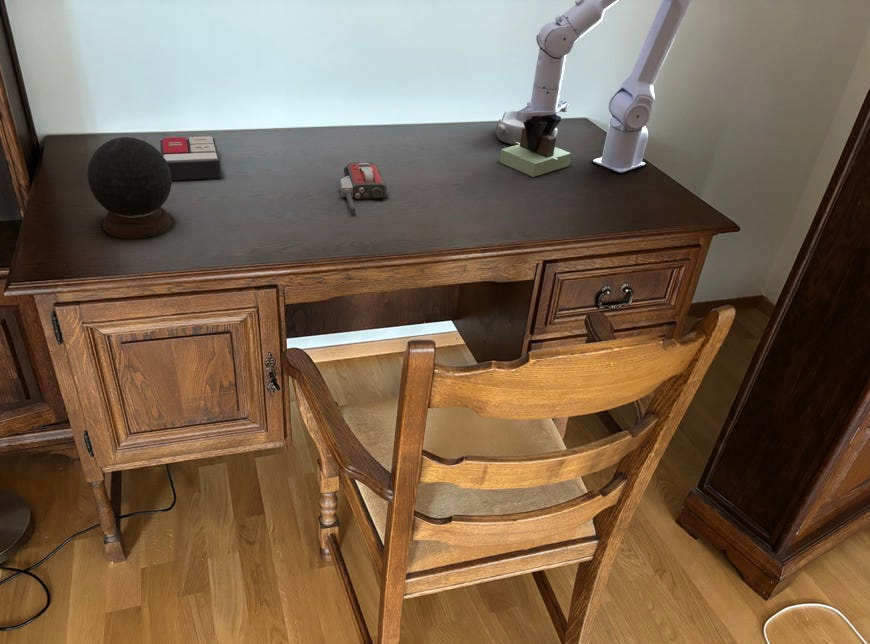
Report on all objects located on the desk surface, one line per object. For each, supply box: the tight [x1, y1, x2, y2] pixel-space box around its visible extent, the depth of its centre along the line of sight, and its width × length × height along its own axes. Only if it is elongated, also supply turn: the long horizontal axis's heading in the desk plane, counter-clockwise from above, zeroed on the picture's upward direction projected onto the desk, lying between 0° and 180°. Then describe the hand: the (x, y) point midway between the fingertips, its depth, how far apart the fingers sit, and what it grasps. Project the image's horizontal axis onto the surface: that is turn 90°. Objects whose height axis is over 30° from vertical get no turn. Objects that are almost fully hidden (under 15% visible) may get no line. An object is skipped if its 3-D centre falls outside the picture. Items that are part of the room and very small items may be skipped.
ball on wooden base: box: [87, 136, 173, 240], centre depth 125 cm, size 13×13×15 cm
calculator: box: [159, 135, 223, 181], centre depth 151 cm, size 11×4×15 cm
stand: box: [499, 142, 572, 178], centre depth 165 cm, size 12×12×3 cm
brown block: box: [520, 127, 557, 157], centre depth 163 cm, size 8×2×4 cm, turn 41°
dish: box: [495, 109, 558, 146], centre depth 178 cm, size 14×14×5 cm
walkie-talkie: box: [339, 161, 387, 212], centre depth 145 cm, size 9×4×20 cm
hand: (536, 148), depth 164 cm, fingers closed on brown block, 2 cm apart
